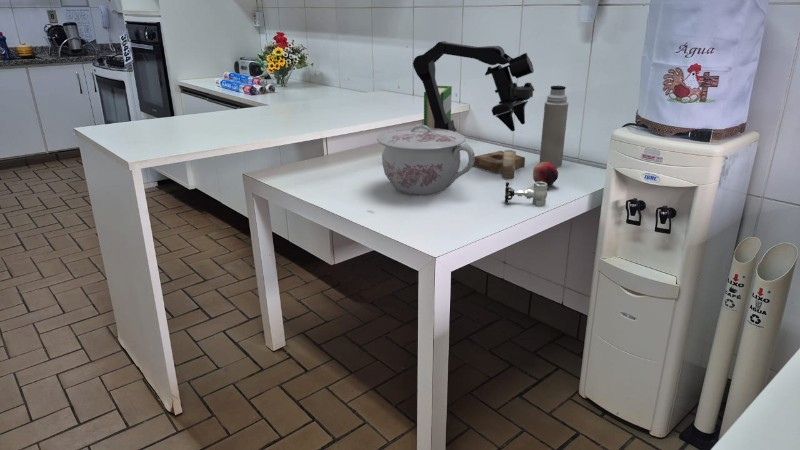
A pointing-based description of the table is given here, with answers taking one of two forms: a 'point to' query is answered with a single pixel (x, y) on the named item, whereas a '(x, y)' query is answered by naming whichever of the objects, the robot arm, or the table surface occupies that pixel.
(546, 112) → the thermos bottle
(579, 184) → the table surface
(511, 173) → the peg
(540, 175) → the fruit
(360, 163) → the table surface
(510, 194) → the valve
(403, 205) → the table surface
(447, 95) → the hardback book
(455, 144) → the chamber pot
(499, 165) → the socket block
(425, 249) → the table surface
